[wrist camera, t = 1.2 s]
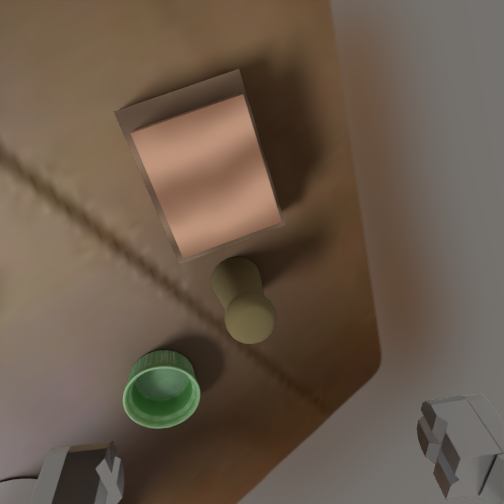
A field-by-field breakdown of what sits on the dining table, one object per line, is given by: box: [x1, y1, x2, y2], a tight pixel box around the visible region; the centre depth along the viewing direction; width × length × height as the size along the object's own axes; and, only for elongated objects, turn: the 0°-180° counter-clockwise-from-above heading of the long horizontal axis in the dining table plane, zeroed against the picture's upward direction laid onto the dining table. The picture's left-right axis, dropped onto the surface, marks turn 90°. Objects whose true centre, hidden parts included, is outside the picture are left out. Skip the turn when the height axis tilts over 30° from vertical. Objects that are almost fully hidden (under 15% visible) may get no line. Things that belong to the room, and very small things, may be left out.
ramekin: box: [123, 350, 201, 429], centre depth 50 cm, size 9×9×4 cm
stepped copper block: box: [114, 69, 285, 264], centre depth 40 cm, size 16×12×8 cm
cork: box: [211, 257, 277, 344], centre depth 44 cm, size 6×6×11 cm
